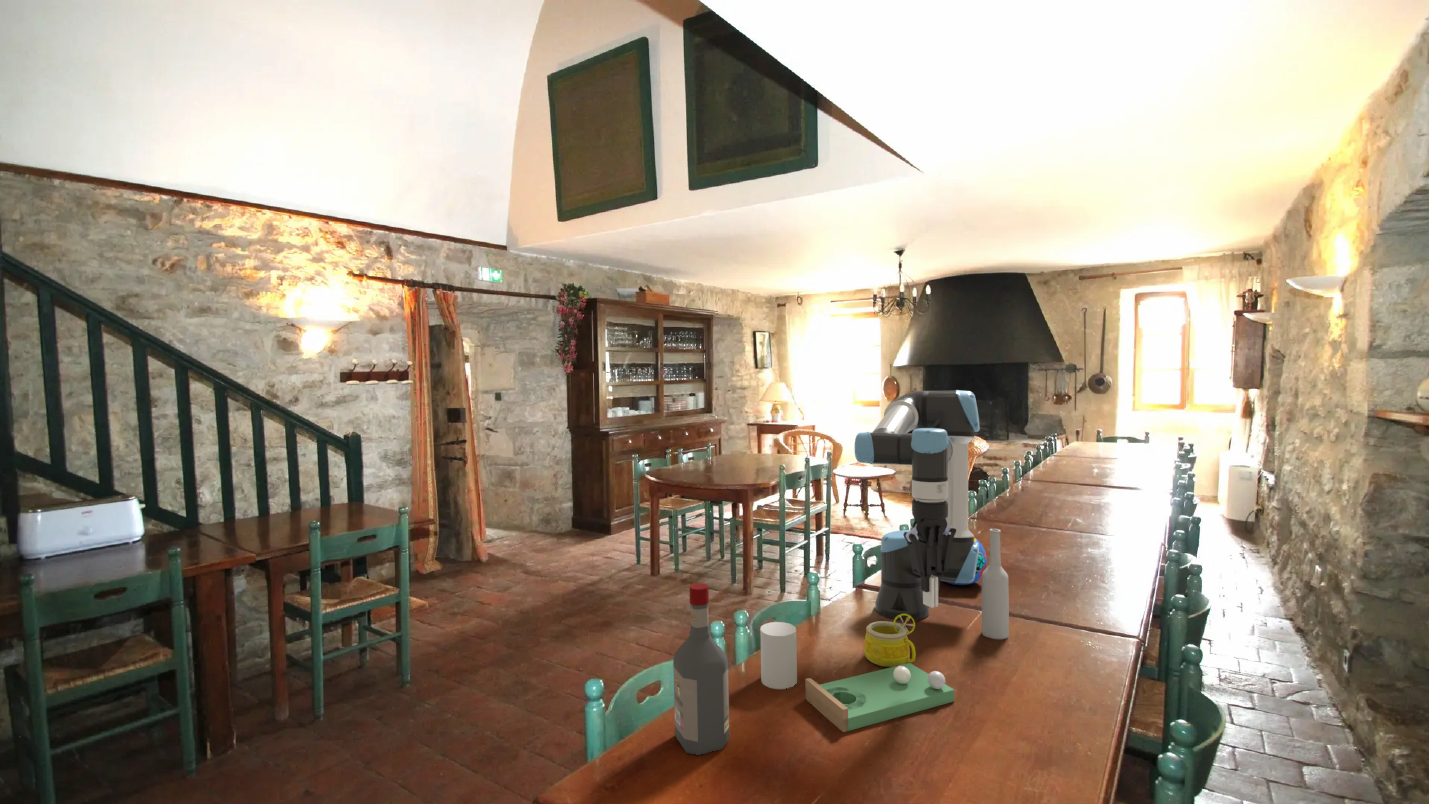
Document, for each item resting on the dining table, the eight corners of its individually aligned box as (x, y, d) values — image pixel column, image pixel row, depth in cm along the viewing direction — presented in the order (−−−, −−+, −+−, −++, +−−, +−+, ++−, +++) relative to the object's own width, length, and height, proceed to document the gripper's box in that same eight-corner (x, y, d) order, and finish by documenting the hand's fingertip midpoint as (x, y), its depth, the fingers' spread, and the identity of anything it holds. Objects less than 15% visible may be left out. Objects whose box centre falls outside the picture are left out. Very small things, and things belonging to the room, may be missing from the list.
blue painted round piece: (935, 591, 203) (935, 544, 202) (926, 573, 220) (926, 531, 220) (993, 593, 200) (993, 545, 199) (979, 575, 218) (979, 532, 217)
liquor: (688, 759, 116) (685, 597, 115) (671, 734, 124) (668, 582, 123) (733, 747, 120) (730, 589, 118) (714, 723, 128) (711, 576, 127)
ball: (889, 681, 139) (889, 665, 139) (903, 677, 140) (903, 661, 140) (900, 688, 136) (900, 671, 135) (914, 685, 137) (914, 668, 137)
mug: (855, 661, 154) (854, 612, 154) (877, 647, 162) (877, 600, 162) (904, 677, 146) (904, 626, 145) (925, 661, 154) (925, 612, 153)
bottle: (1002, 641, 164) (1001, 534, 163) (977, 634, 169) (976, 529, 168) (1013, 634, 168) (1013, 529, 167) (988, 627, 173) (988, 525, 172)
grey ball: (923, 686, 136) (923, 670, 136) (937, 683, 138) (937, 666, 137) (935, 694, 133) (935, 677, 133) (949, 690, 134) (949, 673, 134)
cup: (800, 674, 148) (799, 624, 147) (792, 691, 140) (792, 637, 140) (766, 670, 151) (765, 620, 150) (757, 686, 143) (756, 633, 142)
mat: (805, 699, 137) (805, 678, 136) (909, 673, 148) (909, 654, 147) (843, 732, 124) (842, 709, 124) (954, 701, 135) (954, 680, 134)
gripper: (917, 505, 133) (918, 615, 134) (966, 499, 139) (966, 605, 140) (894, 499, 140) (894, 604, 141) (941, 493, 146) (942, 595, 146)
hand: (930, 604), depth 140 cm, fingers closed
